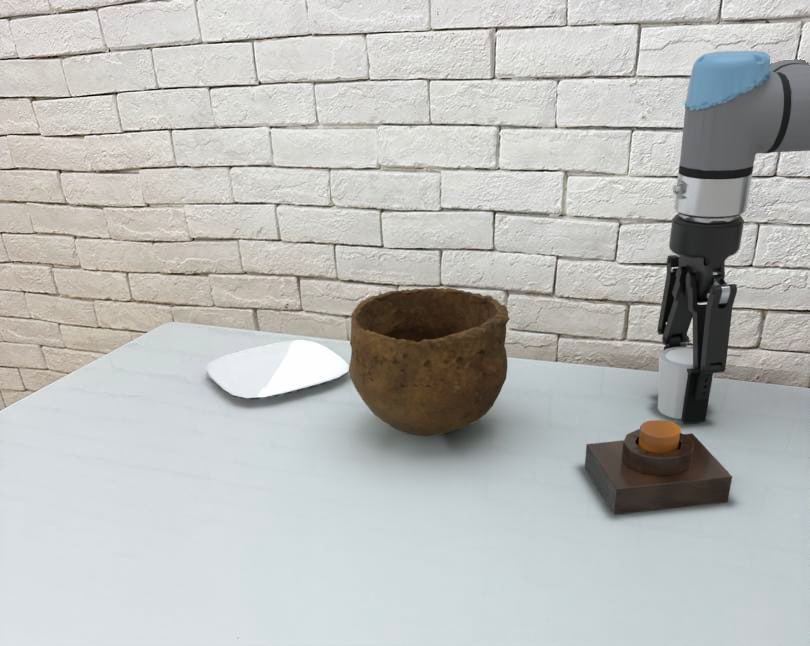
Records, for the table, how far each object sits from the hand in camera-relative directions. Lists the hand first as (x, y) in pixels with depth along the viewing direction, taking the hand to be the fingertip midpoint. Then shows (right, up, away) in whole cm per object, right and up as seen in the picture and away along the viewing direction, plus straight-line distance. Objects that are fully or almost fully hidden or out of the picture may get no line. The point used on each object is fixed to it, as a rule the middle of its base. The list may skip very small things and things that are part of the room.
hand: (680, 407), depth 106 cm
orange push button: (-8, -7, -17) cm, 20 cm away
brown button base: (-8, -11, -15) cm, 20 cm away
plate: (-52, +7, +16) cm, 55 cm away
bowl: (-31, -3, 0) cm, 31 cm away
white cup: (0, 0, 0) cm, 0 cm away
